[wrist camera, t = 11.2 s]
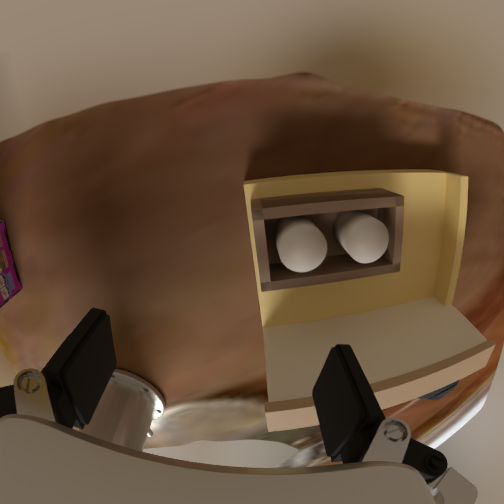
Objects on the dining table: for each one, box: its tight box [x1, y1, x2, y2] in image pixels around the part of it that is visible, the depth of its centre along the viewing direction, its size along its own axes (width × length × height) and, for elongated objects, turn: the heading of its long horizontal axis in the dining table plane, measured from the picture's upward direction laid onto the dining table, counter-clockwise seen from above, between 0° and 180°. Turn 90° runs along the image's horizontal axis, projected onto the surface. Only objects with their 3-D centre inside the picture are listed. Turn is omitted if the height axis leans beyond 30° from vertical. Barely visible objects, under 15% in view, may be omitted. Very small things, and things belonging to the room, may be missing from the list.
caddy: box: [251, 188, 404, 292], centre depth 22 cm, size 6×12×5 cm, turn 97°
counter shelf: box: [244, 169, 495, 432], centre depth 21 cm, size 17×23×14 cm
